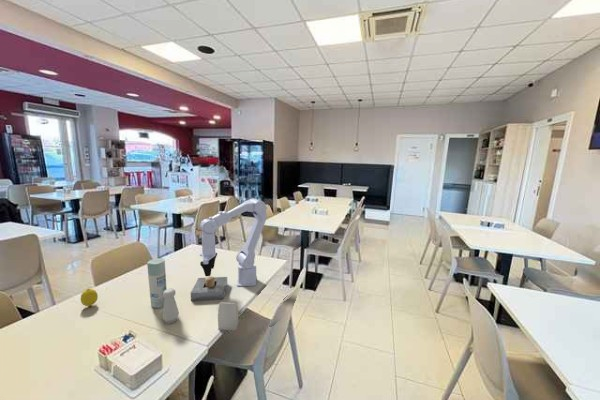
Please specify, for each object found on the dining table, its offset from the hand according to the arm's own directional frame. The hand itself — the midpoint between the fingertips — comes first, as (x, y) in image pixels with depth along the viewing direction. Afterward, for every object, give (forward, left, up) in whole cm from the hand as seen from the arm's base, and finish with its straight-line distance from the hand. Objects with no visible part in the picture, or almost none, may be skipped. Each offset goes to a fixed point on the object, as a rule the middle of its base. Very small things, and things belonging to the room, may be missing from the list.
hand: (209, 272), depth 119 cm
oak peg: (0, 0, -10) cm, 10 cm away
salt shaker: (+11, +20, -10) cm, 25 cm away
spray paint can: (+20, +8, -10) cm, 24 cm away
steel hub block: (0, 0, -10) cm, 10 cm away
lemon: (+48, +7, -10) cm, 50 cm away
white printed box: (-12, +26, -11) cm, 31 cm away
